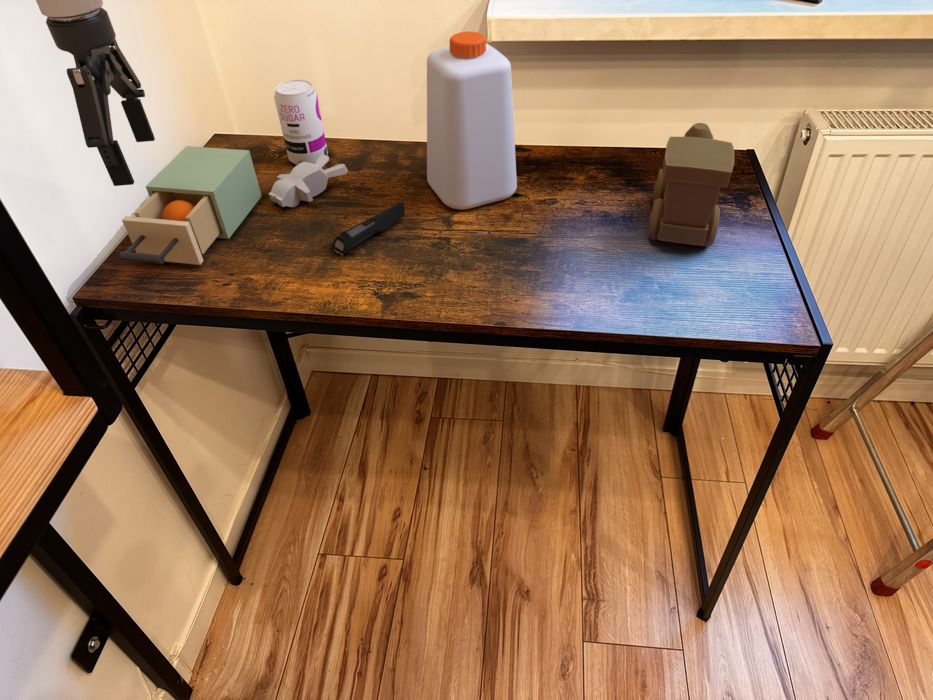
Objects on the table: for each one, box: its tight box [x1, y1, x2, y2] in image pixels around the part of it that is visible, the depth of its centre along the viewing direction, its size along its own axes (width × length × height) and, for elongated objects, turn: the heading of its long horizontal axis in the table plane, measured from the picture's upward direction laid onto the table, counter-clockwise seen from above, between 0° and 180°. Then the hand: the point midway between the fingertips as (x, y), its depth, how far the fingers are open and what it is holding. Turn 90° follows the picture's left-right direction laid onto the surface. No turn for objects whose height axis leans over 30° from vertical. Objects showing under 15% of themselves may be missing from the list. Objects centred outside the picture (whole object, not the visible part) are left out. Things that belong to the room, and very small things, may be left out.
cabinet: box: [145, 145, 263, 240], centre depth 122 cm, size 15×13×10 cm
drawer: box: [118, 191, 222, 266], centre depth 113 cm, size 20×11×8 cm, turn 169°
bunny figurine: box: [268, 154, 349, 208], centre depth 128 cm, size 10×5×15 cm
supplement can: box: [273, 79, 329, 166], centre depth 135 cm, size 8×8×15 cm
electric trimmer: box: [332, 201, 406, 256], centre depth 118 cm, size 4×16×3 cm, turn 137°
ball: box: [163, 200, 195, 222], centre depth 115 cm, size 6×6×6 cm
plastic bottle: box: [426, 31, 518, 210], centre depth 120 cm, size 15×15×28 cm
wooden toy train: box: [647, 122, 735, 248], centre depth 113 cm, size 20×11×17 cm, turn 164°
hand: (135, 161), depth 102 cm, fingers open, 13 cm apart
